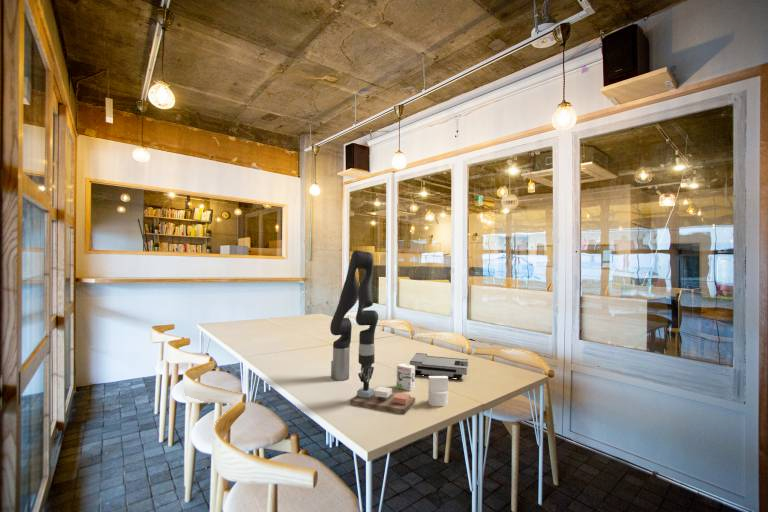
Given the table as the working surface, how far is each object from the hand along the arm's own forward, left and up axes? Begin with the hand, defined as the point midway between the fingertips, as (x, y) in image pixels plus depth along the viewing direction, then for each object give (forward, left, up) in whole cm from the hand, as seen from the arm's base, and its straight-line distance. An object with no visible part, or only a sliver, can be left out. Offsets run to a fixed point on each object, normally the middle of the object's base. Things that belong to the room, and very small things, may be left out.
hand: (366, 389), depth 169 cm
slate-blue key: (0, 0, -2) cm, 2 cm away
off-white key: (+9, 0, -1) cm, 9 cm away
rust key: (+18, 0, -2) cm, 18 cm away
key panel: (+9, 0, -5) cm, 10 cm away
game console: (+22, +57, -5) cm, 61 cm away
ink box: (+12, +23, -5) cm, 26 cm away
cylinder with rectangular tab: (+32, +11, -5) cm, 34 cm away
